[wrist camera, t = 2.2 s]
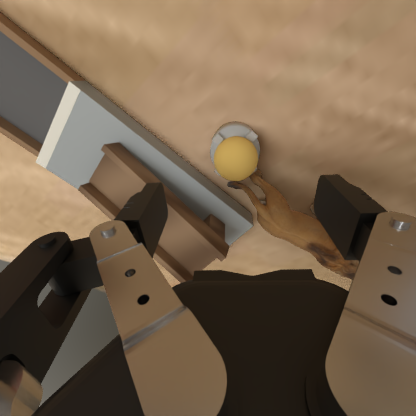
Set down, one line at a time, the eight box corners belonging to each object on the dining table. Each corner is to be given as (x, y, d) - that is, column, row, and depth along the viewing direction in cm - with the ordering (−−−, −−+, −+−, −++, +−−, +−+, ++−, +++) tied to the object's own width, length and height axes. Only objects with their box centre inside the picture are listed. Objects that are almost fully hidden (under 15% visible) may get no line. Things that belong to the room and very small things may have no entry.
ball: (264, 150, 19) (271, 164, 16) (235, 178, 21) (237, 196, 18) (234, 122, 18) (235, 132, 15) (206, 154, 20) (202, 168, 17)
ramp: (229, 225, 24) (229, 260, 19) (197, 253, 26) (191, 290, 22) (114, 138, 20) (80, 157, 15) (89, 181, 22) (53, 208, 18)
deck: (251, 213, 26) (253, 225, 24) (202, 255, 30) (201, 268, 28) (85, 80, 20) (69, 81, 18) (52, 154, 24) (35, 162, 22)
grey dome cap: (268, 142, 21) (274, 152, 19) (235, 176, 24) (236, 189, 21) (232, 108, 20) (234, 113, 17) (200, 147, 22) (197, 157, 19)
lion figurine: (362, 202, 24) (425, 262, 16) (333, 238, 27) (376, 304, 19) (235, 160, 23) (240, 203, 15) (219, 202, 25) (215, 257, 18)
